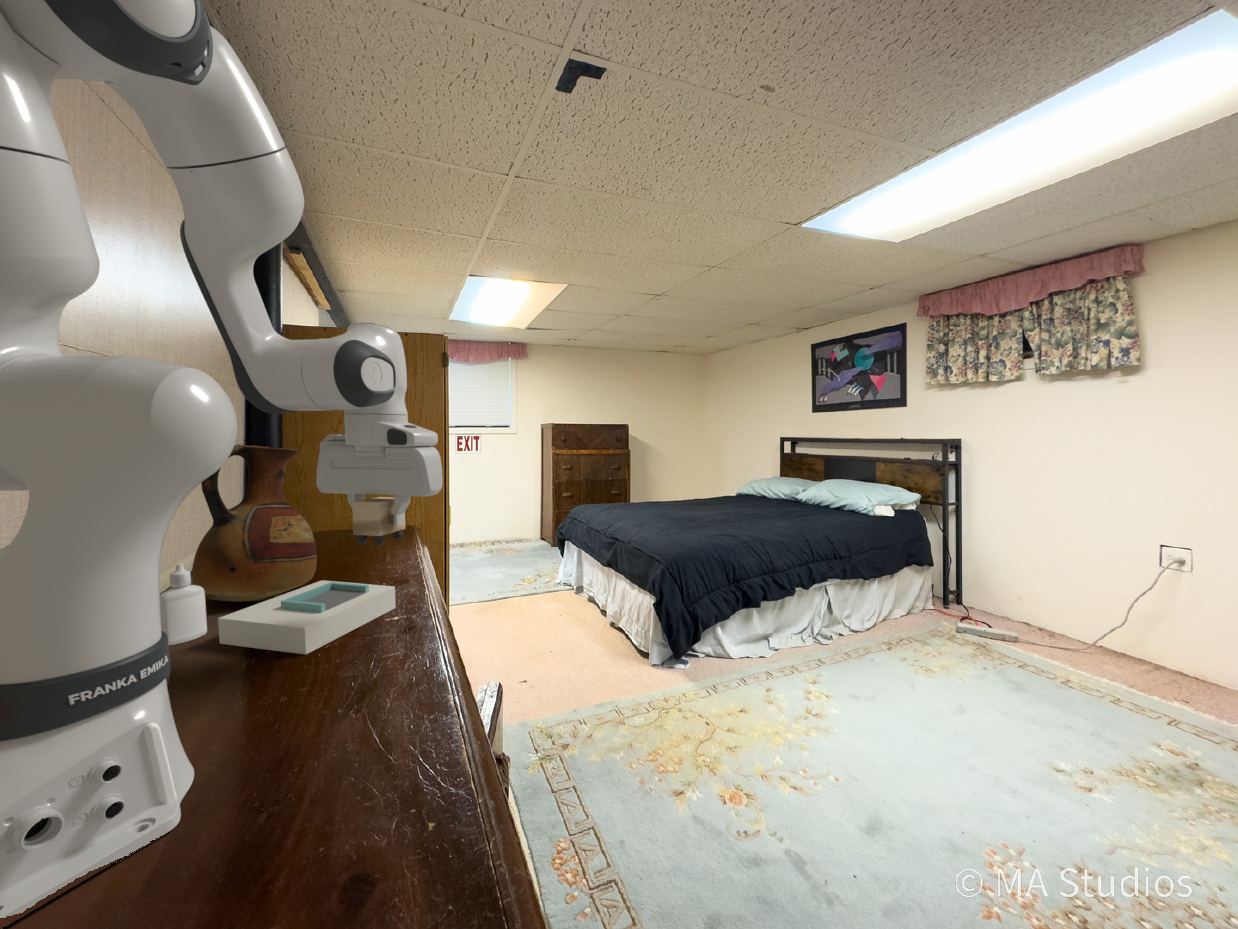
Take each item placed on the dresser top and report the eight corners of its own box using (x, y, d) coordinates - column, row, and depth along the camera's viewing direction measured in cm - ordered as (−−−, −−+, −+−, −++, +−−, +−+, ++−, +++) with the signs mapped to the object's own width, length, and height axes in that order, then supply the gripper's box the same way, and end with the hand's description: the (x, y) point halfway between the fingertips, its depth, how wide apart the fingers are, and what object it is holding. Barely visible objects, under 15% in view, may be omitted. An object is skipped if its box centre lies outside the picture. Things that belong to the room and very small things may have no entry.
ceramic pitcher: (339, 587, 107) (333, 442, 105) (232, 620, 89) (223, 446, 86) (279, 575, 115) (273, 441, 113) (171, 603, 97) (160, 444, 95)
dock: (305, 654, 75) (304, 619, 75) (219, 643, 79) (217, 610, 79) (395, 607, 95) (394, 580, 94) (322, 600, 98) (321, 574, 98)
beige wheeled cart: (380, 546, 77) (378, 502, 76) (353, 545, 78) (352, 501, 77) (405, 538, 82) (404, 497, 82) (380, 537, 84) (379, 497, 83)
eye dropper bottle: (206, 639, 81) (201, 564, 80) (158, 648, 77) (153, 570, 76) (207, 630, 84) (203, 558, 83) (162, 638, 81) (157, 563, 80)
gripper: (304, 434, 78) (307, 524, 79) (422, 434, 74) (424, 530, 74) (335, 433, 85) (338, 517, 85) (447, 434, 80) (448, 522, 81)
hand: (379, 523), depth 80 cm, fingers closed on beige wheeled cart, 5 cm apart
